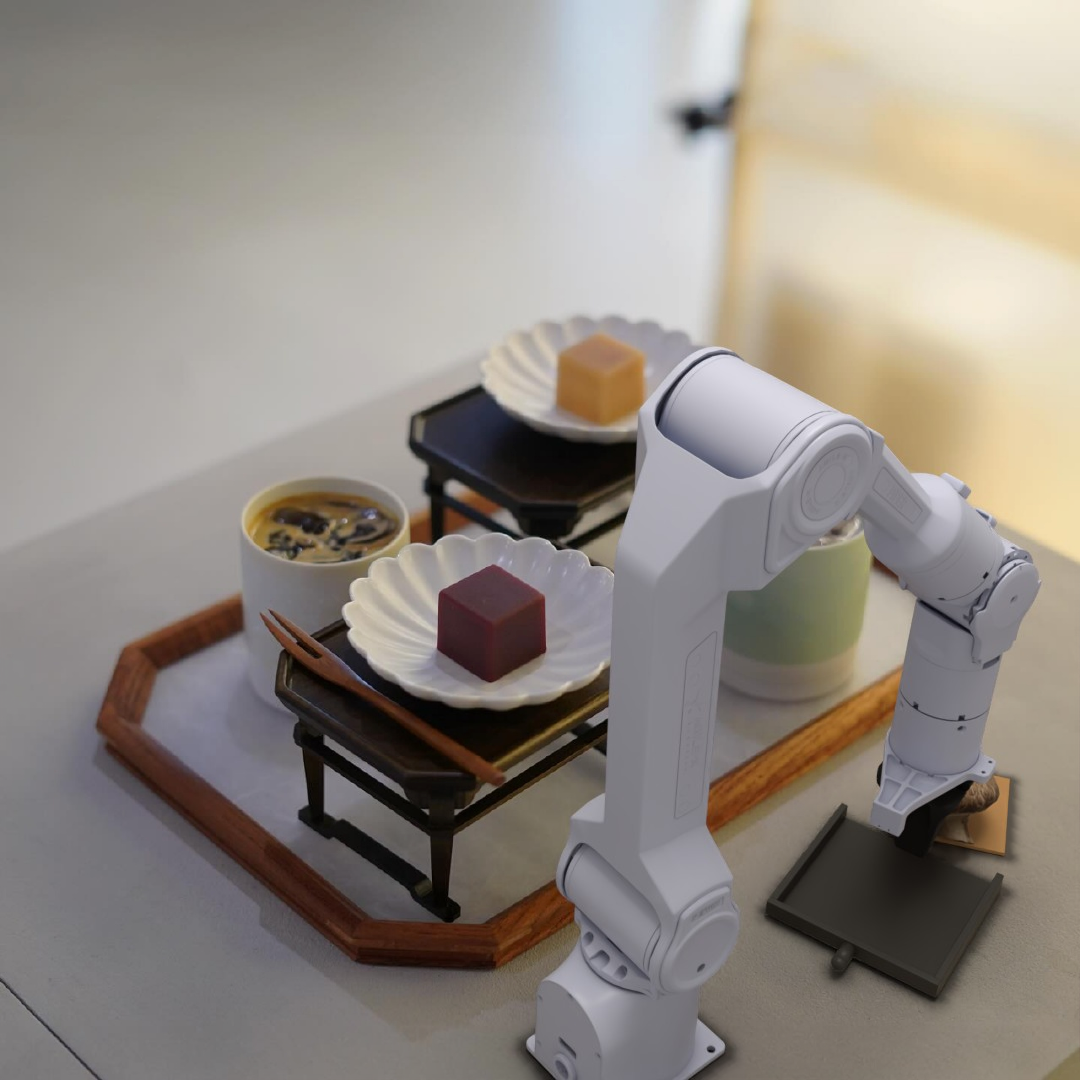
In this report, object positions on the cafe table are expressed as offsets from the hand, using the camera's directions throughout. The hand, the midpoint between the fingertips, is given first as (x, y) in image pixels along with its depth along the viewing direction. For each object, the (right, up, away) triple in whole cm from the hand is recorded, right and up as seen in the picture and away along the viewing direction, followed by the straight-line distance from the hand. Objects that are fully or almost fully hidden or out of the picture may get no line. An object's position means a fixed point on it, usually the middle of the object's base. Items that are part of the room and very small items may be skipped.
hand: (911, 847), depth 104 cm
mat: (+4, +2, +7) cm, 8 cm away
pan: (-3, -4, -2) cm, 5 cm away
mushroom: (+3, +1, +5) cm, 5 cm away
